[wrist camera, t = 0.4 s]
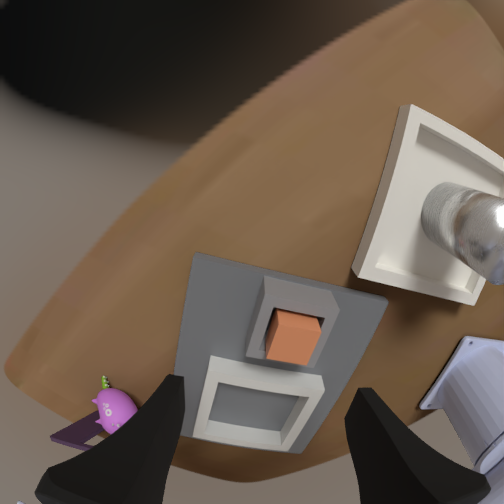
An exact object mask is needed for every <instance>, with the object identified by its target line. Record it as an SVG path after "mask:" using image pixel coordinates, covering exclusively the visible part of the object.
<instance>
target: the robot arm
mask: <svg viewBox="0 0 504 504" xmlns="http://www.w3.org/2000/svg"><path fill="white" fill-rule="evenodd" d="M419 407H420V409H444V411H445V413H446V414H447V416H448V418H449V420H450V421H451V423H452V425H453V427H454V429H455V431H456V432H457V434H458V436H459V438H460V440H461V442H462V444H463V446H464V447H465V449H466V451H467V453H468V455H469V457H470V459H471V461H472V463H473V465H474V468H473V469H472V470H470V469H468V468H465V467H463V466H461V465H459V464H457V463H455V462H453V461H452V460H450V459H448V458H446V457H445V456H443V455H442V454H440V453H438V452H437V451H436V450H434V449H433V448H431V447H430V446H429V445H427V444H426V443H425V442H424V441H422V440H421V439H420V438H418V436H416V435H415V434H414V433H413V432H412V431H411V430H410V429H408V427H407V426H406V425H405V424H404V423H403V422H402V421H401V420H400V419H399V418H398V417H397V416H396V415H395V414H394V413H393V411H392V410H391V409H390V408H389V407H388V406H387V405H386V404H385V403H384V401H383V400H382V399H381V398H380V397H379V396H378V395H377V393H376V392H375V391H374V390H373V389H372V388H358V390H357V392H356V394H355V397H354V399H353V401H352V403H351V405H350V408H349V410H348V412H347V414H346V416H345V418H344V419H345V428H346V435H347V441H348V445H349V449H350V452H351V456H352V460H353V463H354V467H355V471H356V475H357V479H358V485H359V492H360V501H361V504H504V341H500V340H493V339H485V338H478V337H471V336H466V337H464V338H463V339H462V340H461V342H460V344H459V345H458V347H457V349H456V350H455V352H454V354H453V355H452V357H451V359H450V360H449V362H448V363H447V365H446V367H445V368H444V370H443V371H442V373H441V374H440V376H439V377H438V379H437V380H436V382H435V383H434V385H433V386H432V388H431V389H430V390H429V392H428V393H427V395H426V396H425V397H424V399H423V400H422V402H421V403H420V405H419ZM184 414H185V389H184V376H177V375H171V374H169V375H167V376H166V378H165V379H164V380H163V382H162V383H161V384H160V386H159V387H158V388H157V390H156V391H155V392H154V393H153V394H152V396H151V397H150V398H149V399H148V400H147V401H146V402H145V404H144V405H143V406H142V407H141V408H140V409H139V410H138V411H137V412H136V413H135V414H134V415H133V416H132V417H131V418H130V419H129V420H128V421H127V422H126V423H124V424H123V425H122V426H121V427H120V428H119V429H117V430H116V431H115V432H114V433H112V434H111V435H110V436H108V437H107V438H106V439H104V440H103V441H101V442H100V443H98V444H97V445H95V446H94V447H92V448H90V449H89V450H87V451H85V452H83V453H81V454H79V455H78V456H76V457H74V458H71V459H69V460H67V461H65V462H62V463H60V464H57V465H55V466H52V467H49V468H48V469H47V471H46V472H45V473H44V475H43V476H42V478H41V480H40V482H39V484H38V486H37V488H36V490H35V495H36V497H37V499H38V500H39V501H40V502H41V503H42V504H162V501H163V495H164V490H165V484H166V479H167V475H168V471H169V468H170V465H171V462H172V458H173V455H174V452H175V449H176V446H177V443H178V439H179V436H180V433H181V430H182V425H183V420H184ZM17 504H25V503H23V502H22V501H18V502H17Z"/></svg>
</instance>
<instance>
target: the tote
mask: <svg viewBox="0 0 504 504" xmlns="http://www.w3.org/2000/svg"><path fill="white" fill-rule="evenodd" d="M444 182H451V183H455V184H459V185H462V186H466V187H469V188H473V189H476V190H479V191H482V192H486V193H489V194H492V195H495V196H498V197H501V198H504V159H503V158H502V157H500V156H499V155H498V154H496V153H495V152H493V151H492V150H490V149H489V148H487V147H486V146H484V145H483V144H481V143H480V142H478V141H477V140H475V139H473V138H472V137H470V136H469V135H467V134H465V133H464V132H462V131H460V130H459V129H457V128H455V127H454V126H452V125H450V124H448V123H447V122H445V121H443V120H441V119H439V118H438V117H436V116H434V115H432V114H430V113H428V112H426V111H424V110H422V109H420V108H418V107H416V106H414V105H412V104H408V105H403V106H400V109H399V113H398V117H397V121H396V125H395V129H394V133H393V137H392V141H391V145H390V149H389V152H388V156H387V160H386V163H385V167H384V170H383V174H382V177H381V181H380V184H379V187H378V191H377V194H376V197H375V200H374V203H373V206H372V210H371V213H370V216H369V219H368V222H367V225H366V228H365V230H364V233H363V236H362V239H361V242H360V245H359V248H358V250H357V253H356V256H355V259H354V261H353V264H352V267H351V268H352V270H353V271H354V273H355V274H356V275H357V277H358V278H362V279H366V280H370V281H375V282H379V283H383V284H387V285H391V286H395V287H399V288H403V289H407V290H411V291H415V292H420V293H424V294H428V295H432V296H436V297H440V298H444V299H448V300H452V301H456V302H460V303H465V304H469V305H473V306H474V305H475V303H476V301H477V299H478V297H479V294H480V292H481V290H482V288H483V286H484V283H485V281H486V279H485V278H484V277H482V276H481V275H479V274H478V273H477V272H475V271H474V270H472V269H471V268H470V267H468V266H467V265H465V264H464V263H463V262H461V261H460V260H458V259H457V258H455V257H454V256H452V255H451V254H449V253H448V252H446V251H445V250H443V249H442V248H440V247H439V246H437V245H436V244H434V243H433V242H431V241H430V240H429V239H428V238H427V237H426V235H425V233H424V231H423V228H422V224H421V211H422V206H423V203H424V200H425V198H426V196H427V195H428V193H429V192H430V191H431V190H432V189H433V188H434V187H435V186H437V185H438V184H440V183H444Z"/></svg>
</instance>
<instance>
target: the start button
mask: <svg viewBox="0 0 504 504" xmlns="http://www.w3.org/2000/svg"><path fill="white" fill-rule="evenodd" d="M321 333H322V332H321V329H320V326H319V323H318V320H317V316H314V315H309V314H304V313H299V312H294V311H289V310H285V309H280V308H276V309H275V312H274V315H273V318H272V321H271V324H270V327H269V330H268V332H267V335H266V338H265V340H266V359H271V360H277V361H282V362H288V363H294V364H300V365H307V364H308V362H309V359H310V357H311V355H312V353H313V351H314V348H315V346H316V344H317V342H318V339H319V337H320V335H321Z"/></svg>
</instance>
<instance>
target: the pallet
mask: <svg viewBox="0 0 504 504" xmlns="http://www.w3.org/2000/svg"><path fill="white" fill-rule="evenodd" d="M388 303H389V302H388V300H387V299H386V298H385V297H384V296H381V295H376V294H372V293H367V292H363V291H359V290H354V289H350V288H345V287H341V286H337V285H332V284H328V283H324V282H319V281H315V280H311V279H307V278H302V277H298V276H294V275H290V274H285V273H281V272H277V271H273V270H269V269H264V268H260V267H256V266H252V265H248V264H244V263H239V262H235V261H231V260H227V259H223V258H219V257H215V256H211V255H207V254H202V253H198V252H196V253H195V255H194V256H193V261H192V266H191V271H190V277H189V282H188V288H187V293H186V299H185V305H184V311H183V316H182V323H181V329H180V335H179V341H178V348H177V355H176V361H175V368H174V375H177V376H184V389H185V414H184V420H183V425H182V430H181V433H180V435H182V436H186V437H190V438H195V439H199V440H204V441H209V442H214V443H219V444H225V445H231V446H237V447H243V448H250V449H258V450H266V451H275V452H286V453H299V454H301V453H302V452H303V450H304V449H305V448H306V446H307V445H308V443H309V442H310V440H311V439H312V438H313V436H314V435H315V433H316V432H317V430H318V429H319V427H320V426H321V424H322V423H323V421H324V420H325V418H326V417H327V415H328V413H329V412H330V410H331V409H332V407H333V406H334V404H335V402H336V401H337V399H338V397H339V396H340V394H341V392H342V391H343V389H344V387H345V386H346V384H347V382H348V381H349V379H350V377H351V375H352V374H353V372H354V370H355V368H356V366H357V365H358V363H359V361H360V359H361V357H362V355H363V354H364V352H365V350H366V348H367V346H368V344H369V342H370V340H371V338H372V336H373V334H374V332H375V330H376V328H377V326H378V324H379V322H380V320H381V318H382V316H383V314H384V312H385V309H386V307H387V305H388ZM276 308H280V309H285V310H289V311H294V312H299V313H304V314H309V315H314V316H317V320H318V323H319V326H320V329H321V332H322V333H321V335H320V337H319V339H318V342H317V344H316V346H315V348H314V351H313V353H312V355H311V357H310V359H309V362H308V364H307V365H300V364H294V363H288V362H282V361H277V360H271V359H266V340H265V338H266V335H267V332H268V330H269V327H270V324H271V321H272V318H273V315H274V312H275V309H276Z"/></svg>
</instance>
